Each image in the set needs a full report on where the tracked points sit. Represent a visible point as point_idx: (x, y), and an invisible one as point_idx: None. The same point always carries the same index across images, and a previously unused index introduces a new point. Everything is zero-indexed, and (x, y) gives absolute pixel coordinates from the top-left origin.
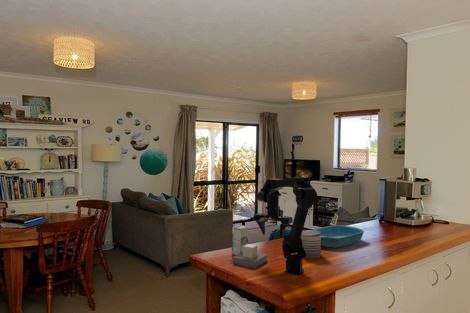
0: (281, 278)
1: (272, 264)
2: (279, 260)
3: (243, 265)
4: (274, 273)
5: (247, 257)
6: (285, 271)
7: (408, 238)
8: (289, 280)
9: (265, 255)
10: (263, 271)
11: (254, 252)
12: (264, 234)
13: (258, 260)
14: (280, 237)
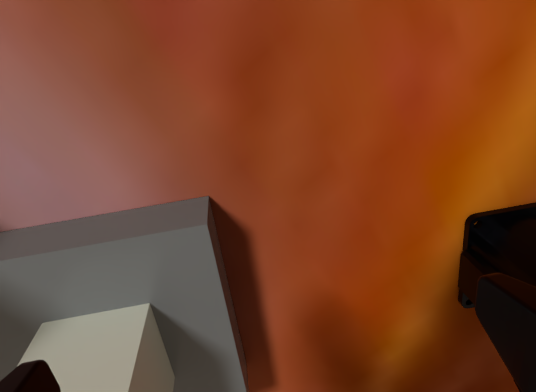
0: (471, 381)
1: (301, 232)
2: (291, 92)
3: None
4: (404, 354)
5: None
6: (463, 305)
7: None
8: None
9: (208, 246)
10: (328, 372)
11: (158, 383)
12: (44, 375)
13: (240, 363)
14: (478, 314)
